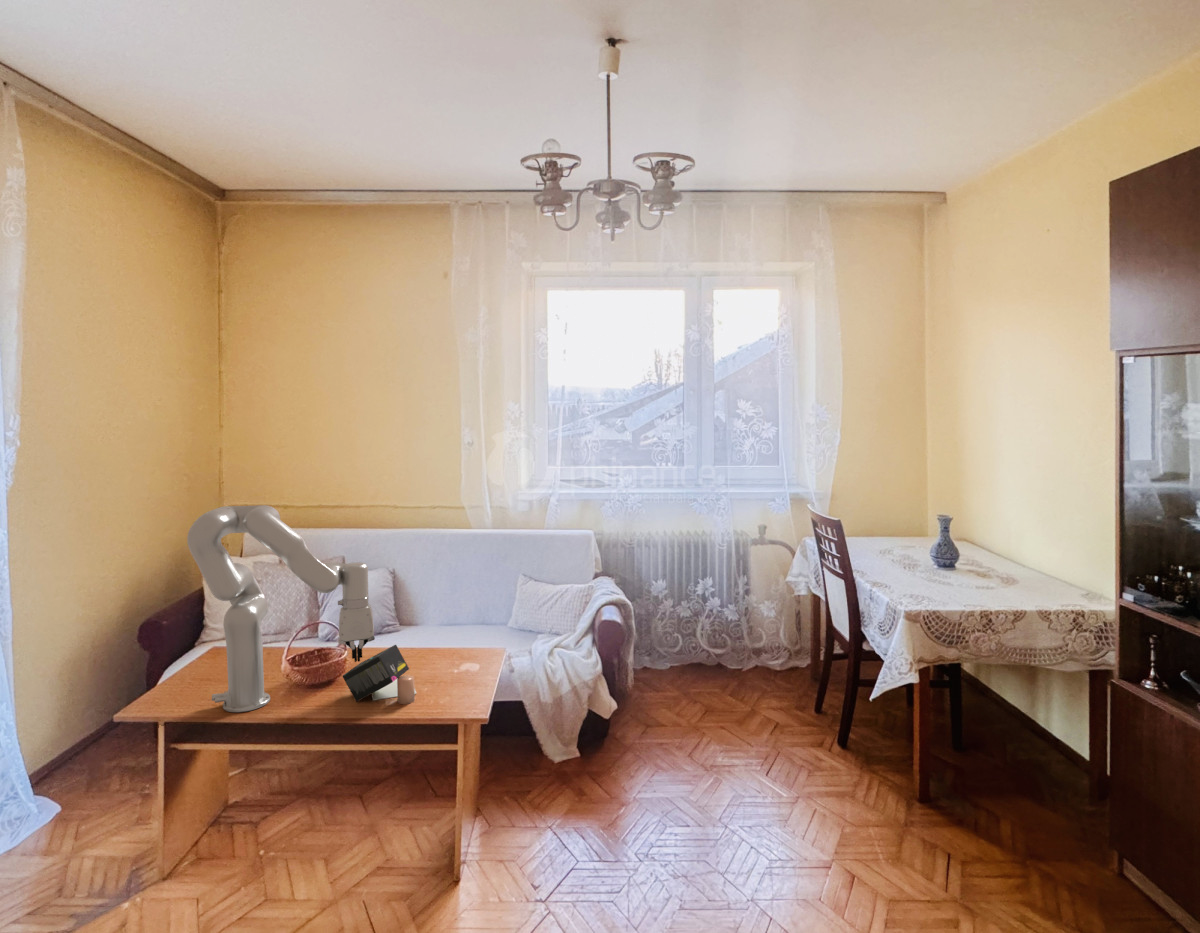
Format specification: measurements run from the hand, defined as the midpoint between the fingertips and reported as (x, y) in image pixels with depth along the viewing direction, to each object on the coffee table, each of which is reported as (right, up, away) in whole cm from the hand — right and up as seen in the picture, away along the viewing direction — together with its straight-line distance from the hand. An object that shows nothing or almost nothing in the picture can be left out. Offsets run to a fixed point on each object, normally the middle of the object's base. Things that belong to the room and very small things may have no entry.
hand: (357, 660), depth 206 cm
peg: (+17, -11, -5) cm, 21 cm away
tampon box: (0, -7, -1) cm, 7 cm away
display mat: (+10, -10, +5) cm, 15 cm away
